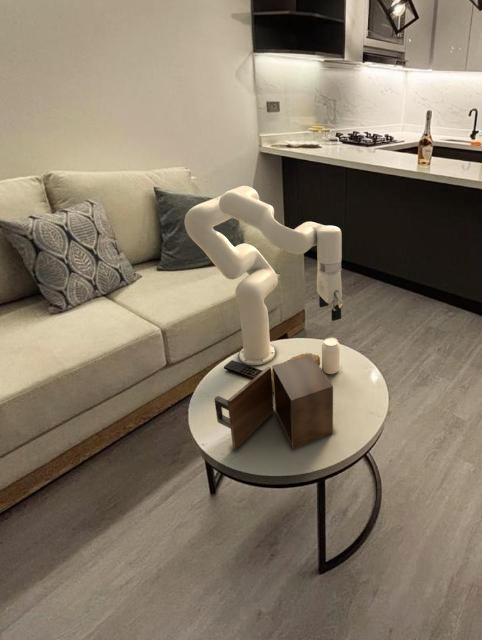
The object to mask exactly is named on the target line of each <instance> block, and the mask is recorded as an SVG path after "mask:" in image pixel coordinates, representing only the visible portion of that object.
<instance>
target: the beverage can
mask: <svg viewBox="0 0 482 640" xmlns="http://www.w3.org/2000/svg"><path fill="white" fill-rule="evenodd" d="M340 365H341V345H340V342H339V340H338V338H335V337H332V336H331V337H327V338H325V339H324V340H323V342H322V344H321V370H322V371H323V373H324V374H328V375H334V374H336V373H338V372H339V371H340Z"/></svg>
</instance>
